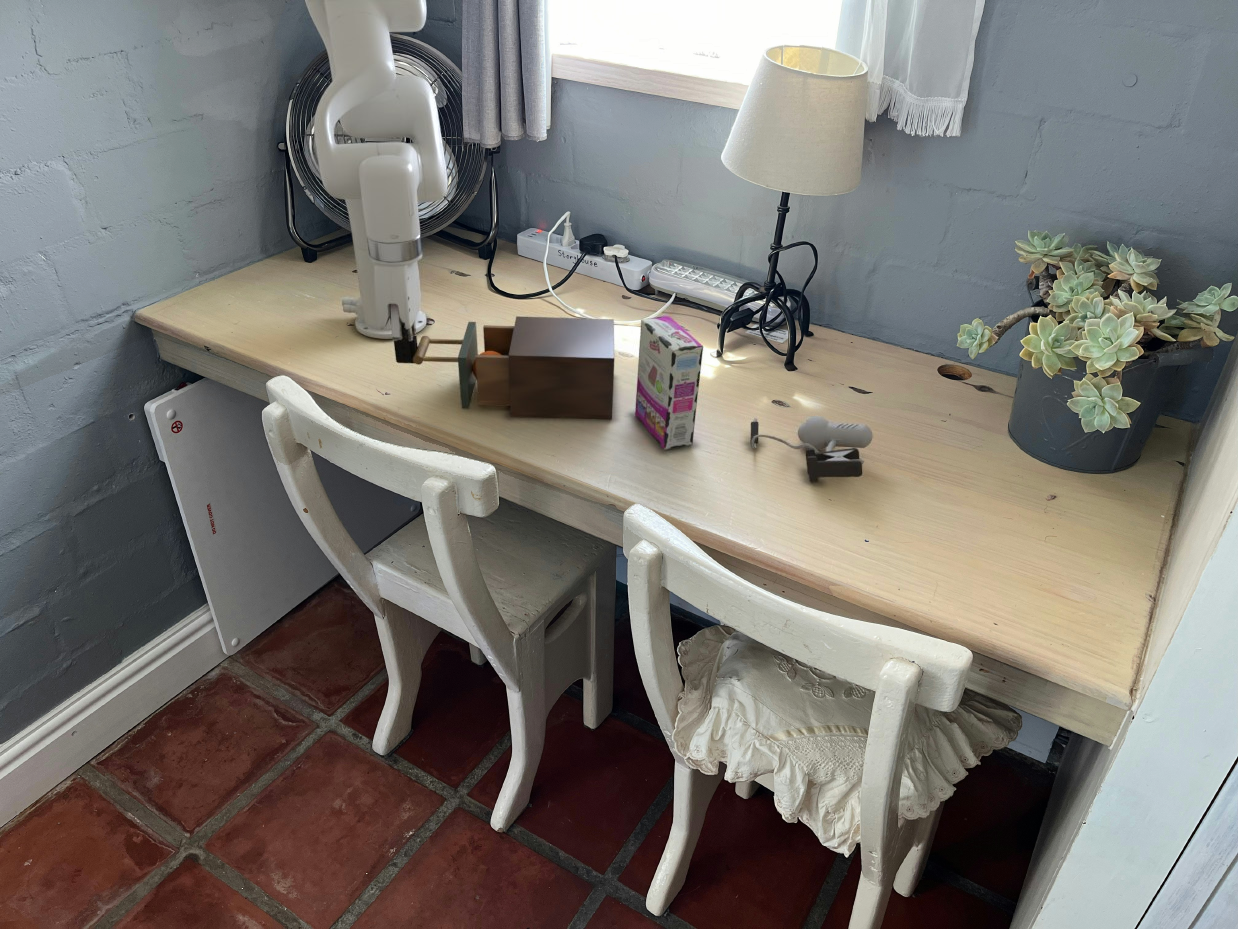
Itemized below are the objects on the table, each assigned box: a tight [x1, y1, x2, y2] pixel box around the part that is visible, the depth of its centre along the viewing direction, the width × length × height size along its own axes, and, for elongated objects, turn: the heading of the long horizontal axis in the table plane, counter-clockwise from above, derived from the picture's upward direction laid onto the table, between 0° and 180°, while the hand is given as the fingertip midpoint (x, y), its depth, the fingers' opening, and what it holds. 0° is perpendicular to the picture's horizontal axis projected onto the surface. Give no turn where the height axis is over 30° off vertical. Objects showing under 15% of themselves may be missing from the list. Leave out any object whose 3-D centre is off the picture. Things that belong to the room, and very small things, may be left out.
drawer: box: [413, 321, 514, 410], centre depth 137 cm, size 22×12×9 cm, turn 91°
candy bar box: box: [634, 315, 704, 451], centre depth 128 cm, size 11×5×16 cm, turn 23°
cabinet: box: [509, 315, 615, 421], centre depth 137 cm, size 16×14×11 cm
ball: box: [473, 351, 501, 379], centre depth 137 cm, size 6×6×6 cm
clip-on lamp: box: [750, 415, 873, 483], centre depth 126 cm, size 12×6×18 cm
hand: (407, 360), depth 136 cm, fingers closed
